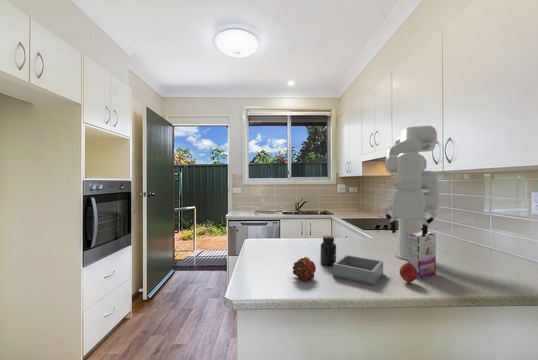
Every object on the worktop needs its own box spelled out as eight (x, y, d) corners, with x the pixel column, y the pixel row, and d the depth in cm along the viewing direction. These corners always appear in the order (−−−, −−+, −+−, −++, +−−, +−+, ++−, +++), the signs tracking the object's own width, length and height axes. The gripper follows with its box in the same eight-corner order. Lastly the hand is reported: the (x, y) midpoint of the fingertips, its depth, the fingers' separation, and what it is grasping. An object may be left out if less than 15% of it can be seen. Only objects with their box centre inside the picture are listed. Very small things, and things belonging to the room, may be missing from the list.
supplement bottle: (336, 267, 111) (336, 239, 111) (320, 265, 113) (320, 238, 113) (335, 262, 118) (335, 235, 118) (320, 261, 119) (320, 234, 119)
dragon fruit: (302, 289, 92) (302, 281, 104) (321, 276, 92) (319, 269, 104) (288, 268, 94) (290, 263, 105) (307, 255, 93) (307, 251, 105)
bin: (346, 266, 112) (346, 254, 112) (383, 273, 104) (383, 261, 104) (332, 276, 100) (332, 263, 100) (373, 286, 91) (373, 272, 91)
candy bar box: (423, 270, 108) (424, 230, 108) (436, 274, 104) (436, 232, 104) (406, 274, 103) (406, 233, 103) (418, 278, 98) (419, 235, 98)
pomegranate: (396, 280, 97) (396, 258, 97) (410, 279, 98) (411, 258, 97) (405, 286, 91) (405, 263, 91) (421, 286, 92) (421, 263, 92)
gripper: (381, 186, 96) (380, 233, 96) (436, 187, 86) (436, 239, 86) (385, 186, 102) (385, 230, 102) (437, 187, 92) (437, 235, 92)
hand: (408, 234), depth 94 cm, fingers open, 9 cm apart
